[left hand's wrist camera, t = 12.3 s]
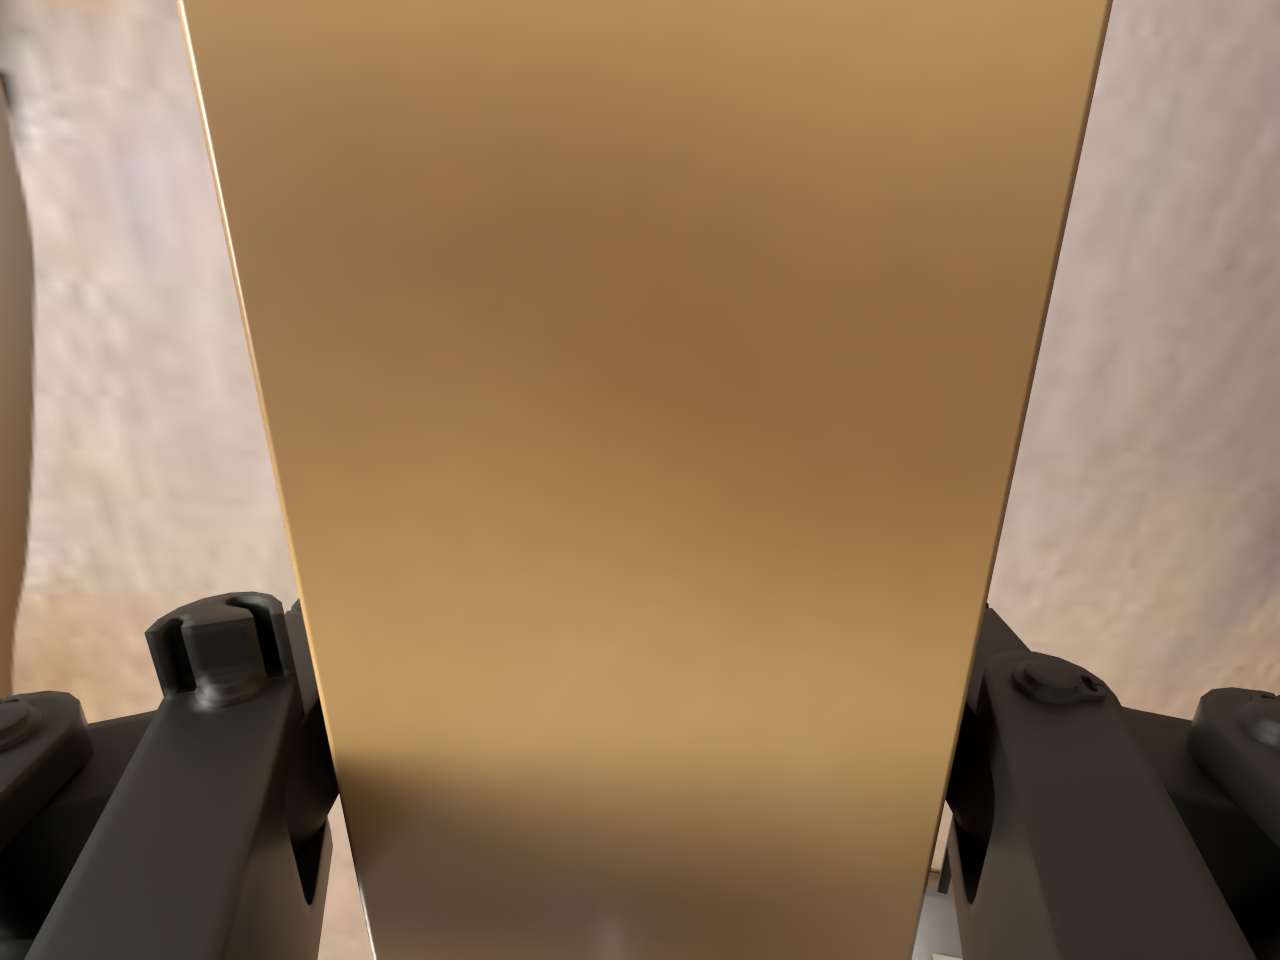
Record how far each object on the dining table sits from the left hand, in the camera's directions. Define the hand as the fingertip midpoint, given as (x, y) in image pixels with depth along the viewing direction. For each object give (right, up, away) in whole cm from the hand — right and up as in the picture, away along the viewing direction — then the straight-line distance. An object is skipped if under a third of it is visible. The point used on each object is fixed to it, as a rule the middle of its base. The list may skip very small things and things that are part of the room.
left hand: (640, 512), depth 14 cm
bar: (0, +9, -3) cm, 10 cm away
